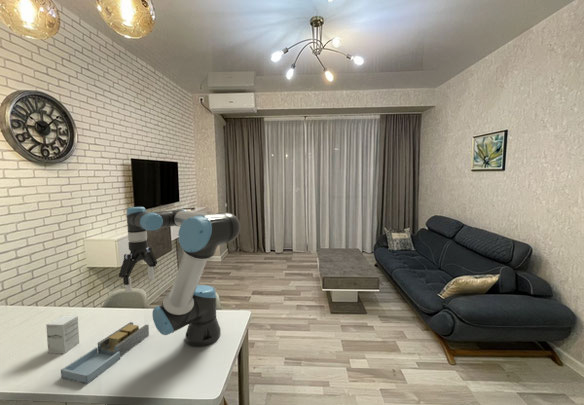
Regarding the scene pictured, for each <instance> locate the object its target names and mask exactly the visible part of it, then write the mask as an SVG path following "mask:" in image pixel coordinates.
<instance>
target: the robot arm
mask: <svg viewBox="0 0 584 405" xmlns="http://www.w3.org/2000/svg"><path fill="white" fill-rule="evenodd" d="M125 217H126V225H127V226H126V227H127V239H128V250H129V251H130V253H129V254H128V253H125V254H124V255H123V260H122V264H121V267H120V270H119V273H118V278H123V286H124V292H126V293H131V292H132V291H133V289H132V277H131V274H132V271H133V270H134V268H135V265H136V264H137V263H138V262H139V261H141V260H142V261H144V262H145V263H146V265H148V266H147V278H148V281H154V280H155V267H157V264H158V261H157V259H156V257H155V254H154V252H153V249H152V247H149V245H148V240H147V239H148V231H149V232H150V231H158V230H159V229H162V228H168V227H179V230H178V237H179V238H178V243H179V246H180V248H182V249H181V250H182V252H184V253H183V255H182V257H181V261H180V264H179V267H178V269H177V273H176V275H175V278H174V280H173V284H172V287H171V290H170V292H168V293H167V294H166V295H165V296H164V298H163V300H162V304H160V305H156V306H155V307H154V308H153V310H152V313H151V314H152V321H153V324H154V327H155V328H156V330H157V331H158V332H159V333H160V334H161V335H163V336H168V335H170V334H173V333H174V332H176V331H179V330H181V329H182V328H184V327H186V326H187V328H186V332H185V342H186V344H187V345H188V346H190V347H196V348H197V347H198V348H199V347H200V348H201V347H206V346H209V345H212V344H214V343H215V342H217V340H219V338H220V337H221V335H222V334H221V332H222V330H221V326H220V324H219V321H218V319H217V294H216V292H217V291H216V289H215V287H213V286H212V285H206V284H200V285H199V282H200V279H201V278H202V275H203V272H204V269H205V267H206V264H207V262H208V259H211V258H213V256H214V255H215V253H216V251H217V248H218V247H219V246H220V245H224V244H228V243H232V242H233V241H234V240H235V239H236V238H237V237H238V235H239V234H240V233H241V232H240V231H241V222H240V220H239V219H238V217H237V216H236V215H234V214H233V213H230V212H216V213H213V214H212V213H206V212H196V211H188V210H187V209H184V208H183V209H178V208H177V209H172V210H161V211H151V212H148V211H146V208H145V207H144V206H133V207H132V206H131V207H128V208H126V216H125Z"/></svg>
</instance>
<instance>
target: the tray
mask: <svg viewBox="0 0 584 405" xmlns="http://www.w3.org/2000/svg"><path fill="white" fill-rule="evenodd" d="M119 360H121V357H120V352H117V353H116V354H114V355H113V356H110V355H104V354H99V353H98V346H97V347H94V348H92V349H91V350H89V351H88V352H87V353H85V354H83V355H82V356H80V357H78V358H77V359H76V360H74V361H73V362H71V363H69V364H68V365H66V366H65V367H63V368H62V369H60V377H61V379H64V378H65V380H68V379H70V380H69V381H72V380H74V381H73V382H77V381H78V383H82V384H86V385H88V384H90V383H91V382H93V380H95V379H96V378H98V377H99V376H100V375H102V373H104V372H105V371H107V370H108V369H109V368H111V367H112V366H113V365H114V364H116V363H117V362H118V361H119ZM98 375H99V376H98Z"/></svg>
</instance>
